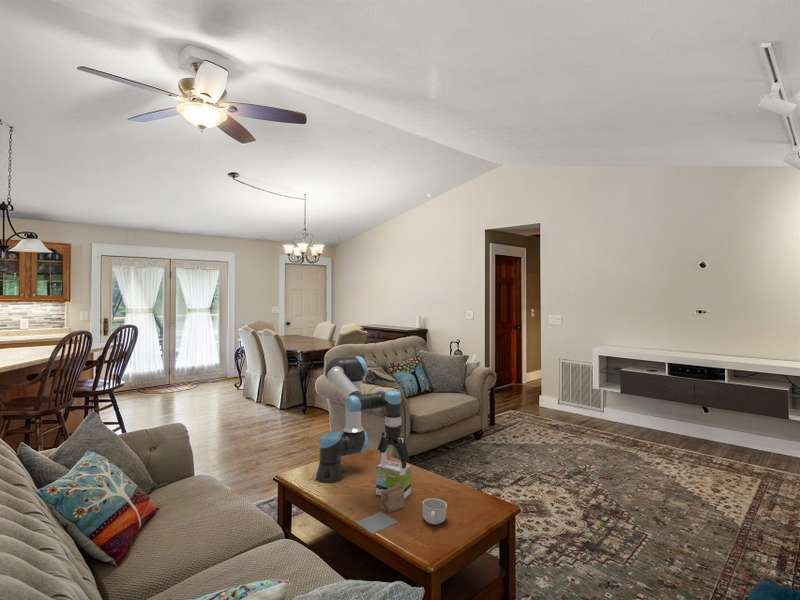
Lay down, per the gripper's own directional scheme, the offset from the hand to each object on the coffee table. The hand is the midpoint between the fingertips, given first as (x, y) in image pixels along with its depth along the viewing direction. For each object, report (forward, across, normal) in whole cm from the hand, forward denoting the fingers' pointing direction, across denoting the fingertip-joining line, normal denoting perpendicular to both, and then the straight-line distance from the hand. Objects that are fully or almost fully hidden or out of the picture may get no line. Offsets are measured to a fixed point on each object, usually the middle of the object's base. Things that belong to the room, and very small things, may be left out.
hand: (393, 470), depth 204 cm
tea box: (+18, -10, +9) cm, 23 cm away
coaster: (+18, +6, -14) cm, 23 cm away
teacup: (+18, +22, +5) cm, 29 cm away
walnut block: (+18, 0, 0) cm, 18 cm away
